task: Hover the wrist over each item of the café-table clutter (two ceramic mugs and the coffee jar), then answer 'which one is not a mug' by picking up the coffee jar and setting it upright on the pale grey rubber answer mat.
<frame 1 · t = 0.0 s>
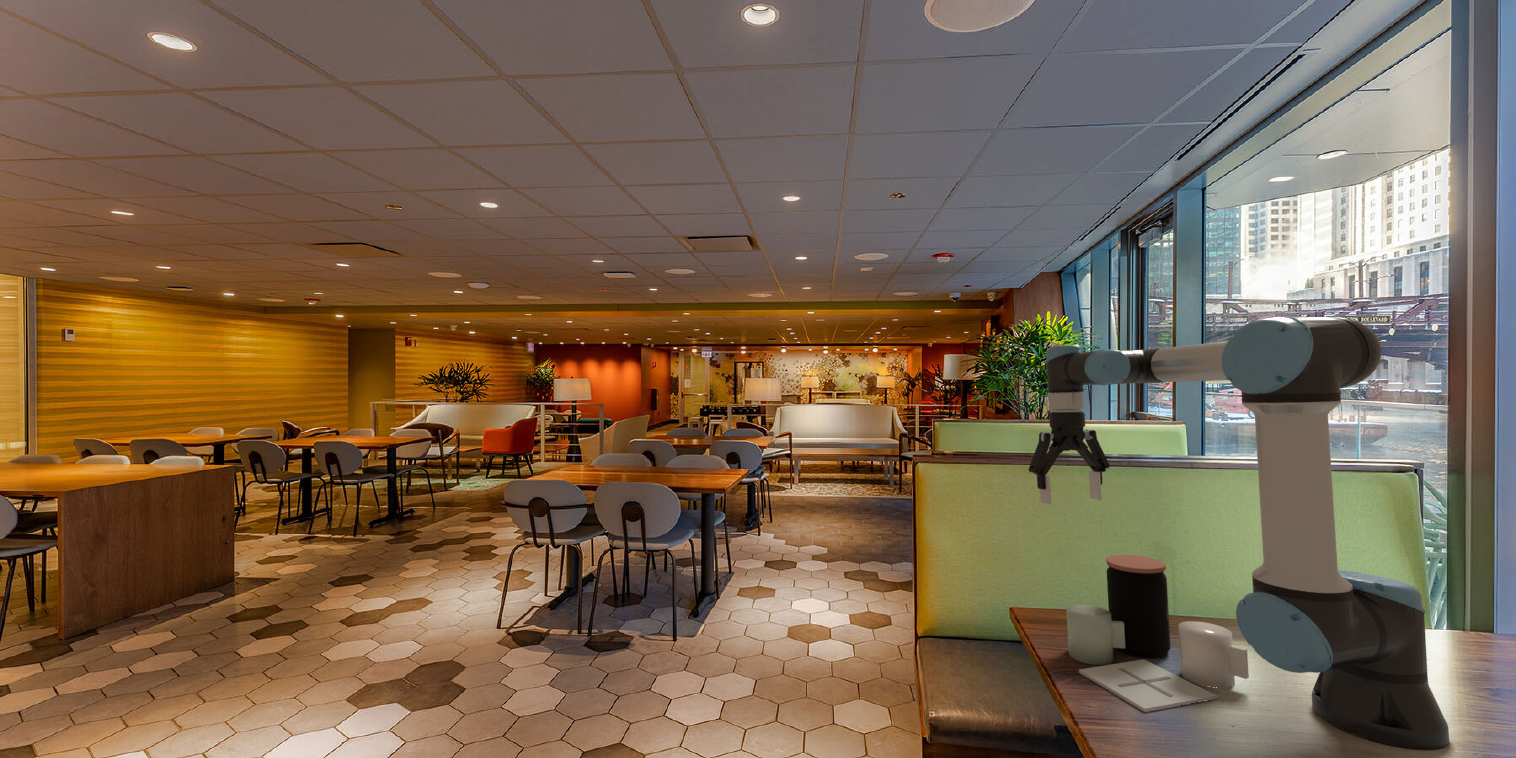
hand: (1071, 501, 141), 28 cm above the table, fingers open, 13 cm apart
answer mat: (1144, 685, 110), on the table
mug cream: (1207, 678, 111), on the table
mug sage: (1090, 656, 122), on the table
coffee jar: (1139, 649, 125), on the table
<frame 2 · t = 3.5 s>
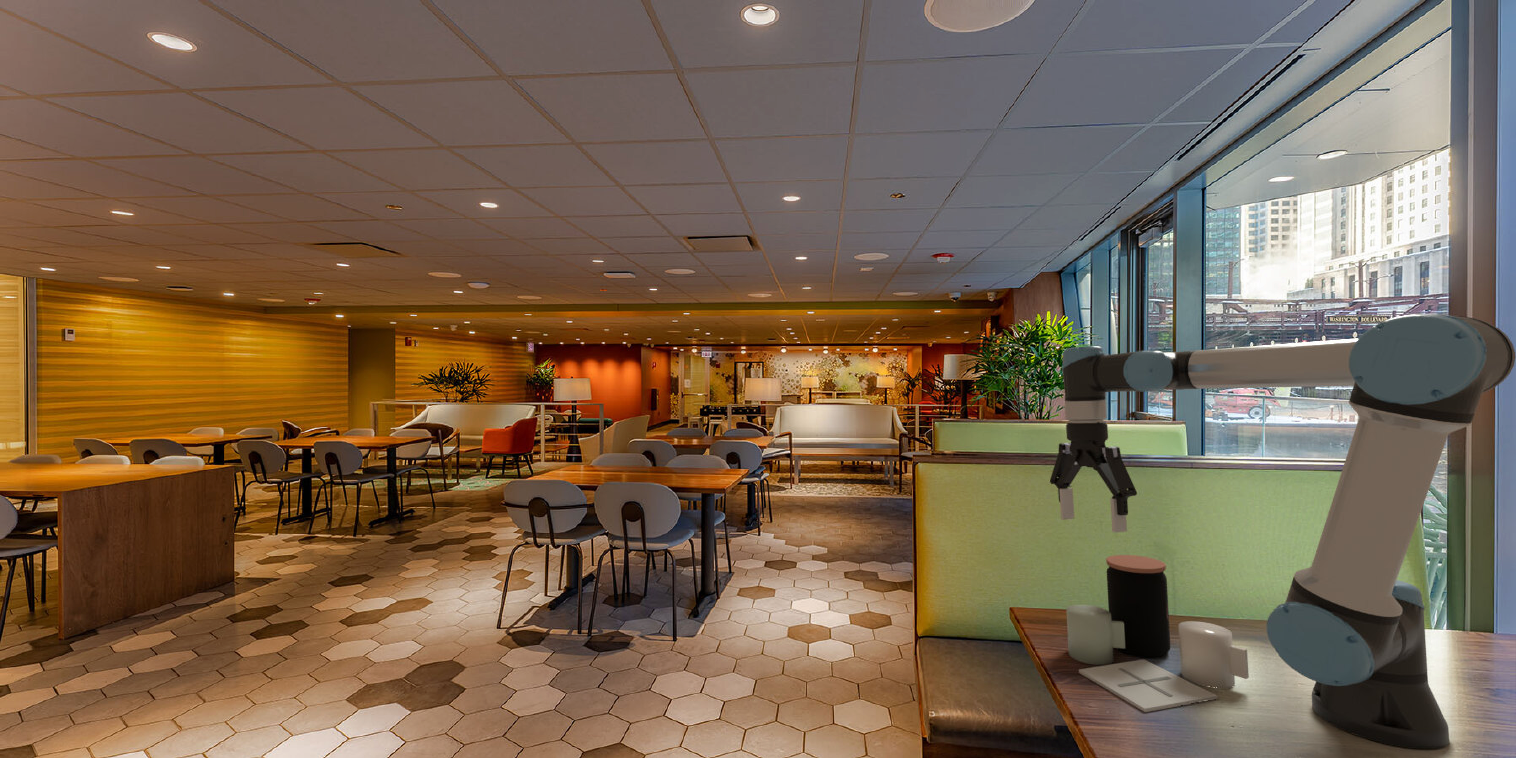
hand: (1092, 525, 123), 26 cm above the table, fingers open, 13 cm apart
nothing on the table moved.
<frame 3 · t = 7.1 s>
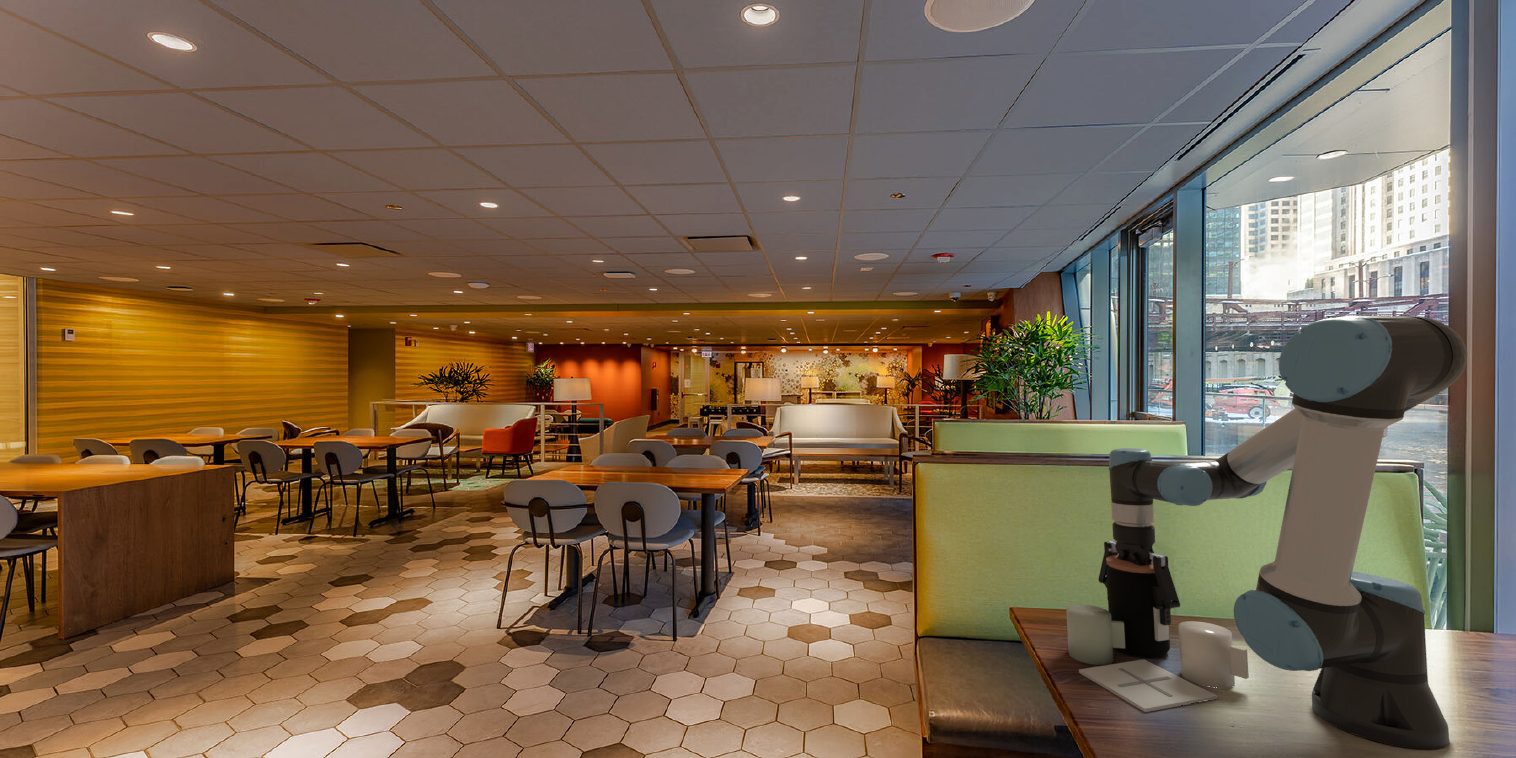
hand: (1138, 629, 125), 4 cm above the table, fingers closed on coffee jar, 11 cm apart
coffee jar: (1139, 649, 125), on the table, touching gripper
everything else where it was.
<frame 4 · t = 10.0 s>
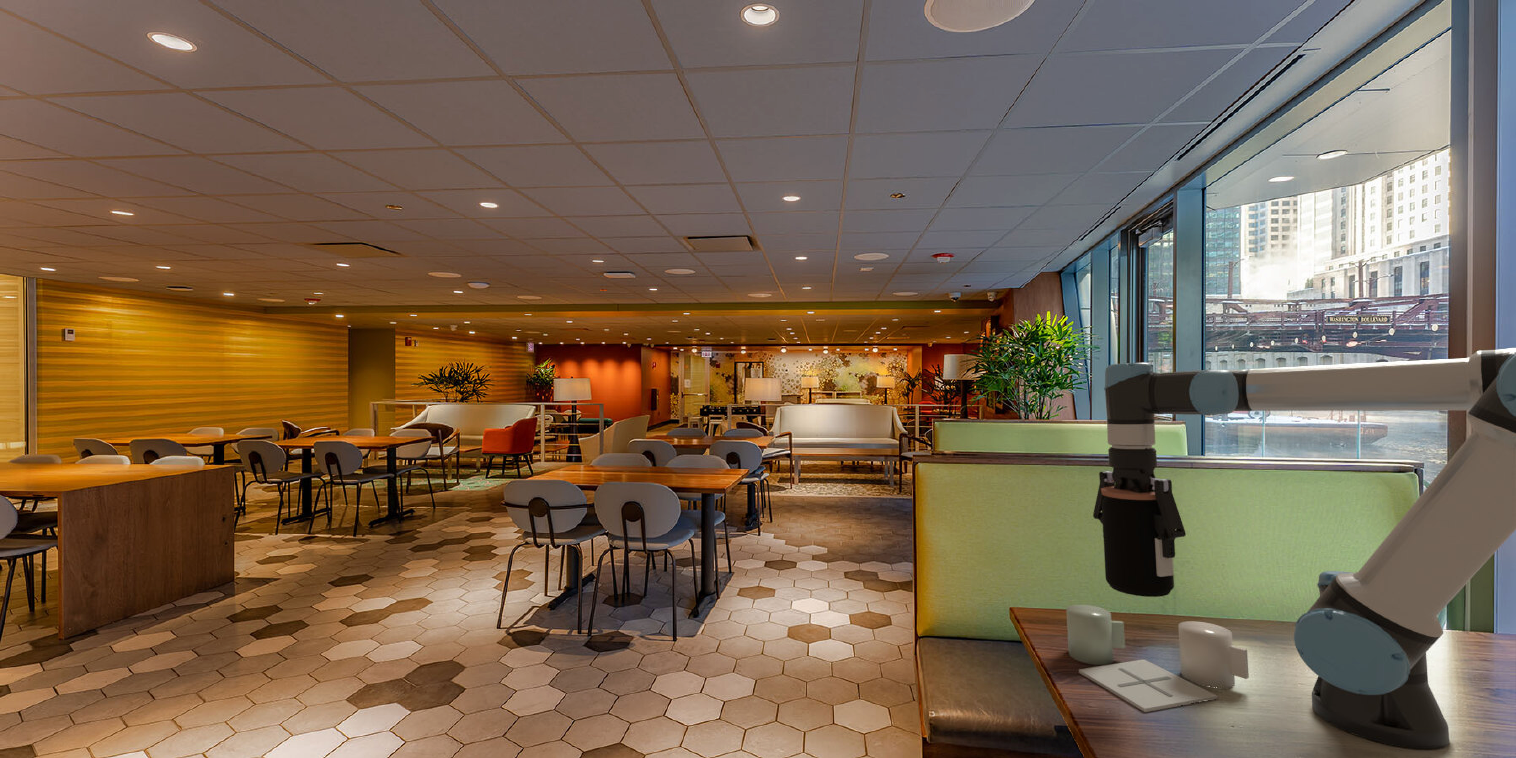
hand: (1138, 566, 110), 22 cm above the table, fingers closed on coffee jar, 11 cm apart
coffee jar: (1139, 589, 110), point 17 cm above the table, touching gripper
everything else where it was.
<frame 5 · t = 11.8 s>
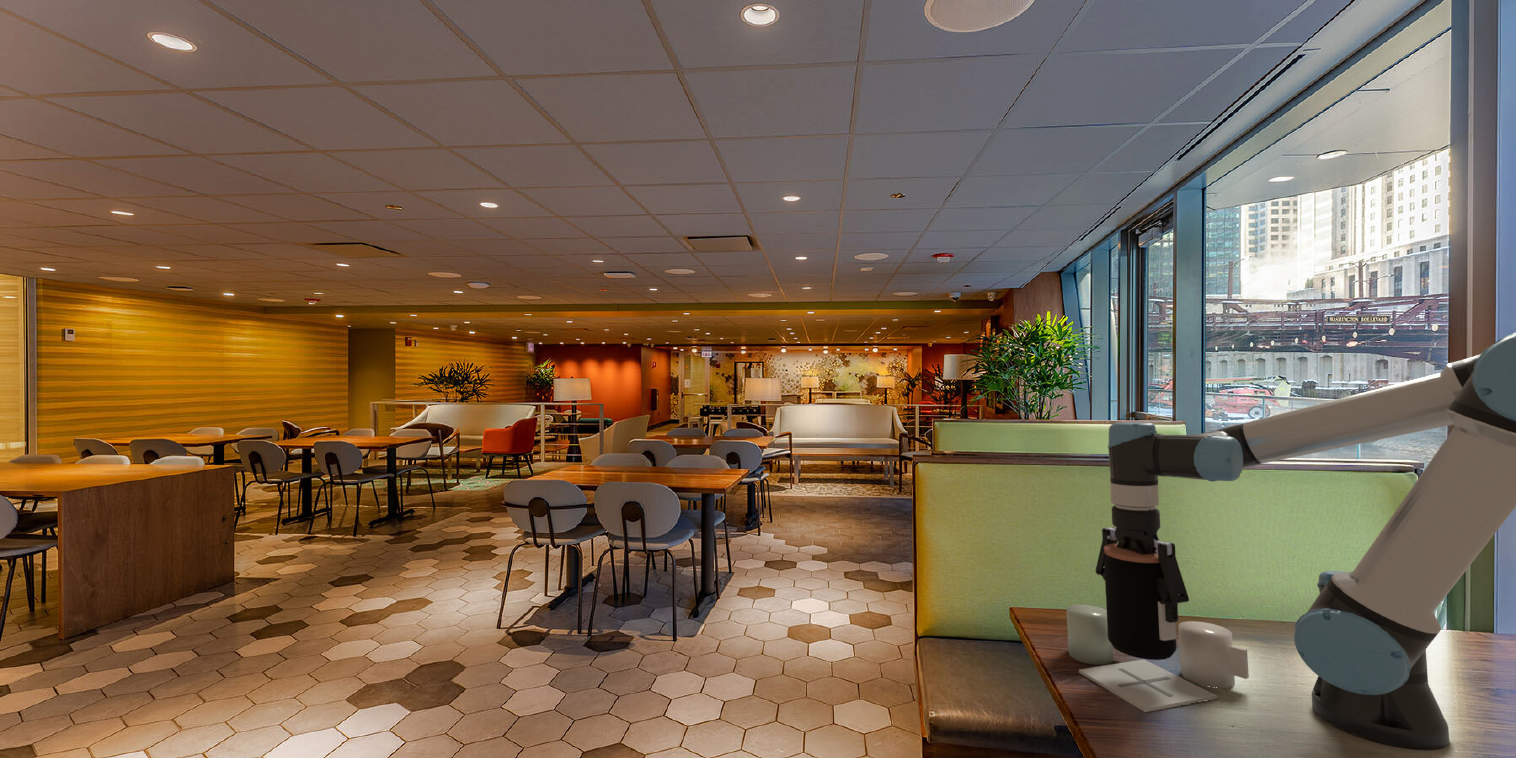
hand: (1140, 627, 110), 11 cm above the table, fingers closed on coffee jar, 11 cm apart
coffee jar: (1141, 649, 110), point 6 cm above the table, touching gripper
everything else where it was.
when the fingers open (6 cm above the table, at t = 13.4 s): coffee jar drops 1 cm, resting on answer mat.
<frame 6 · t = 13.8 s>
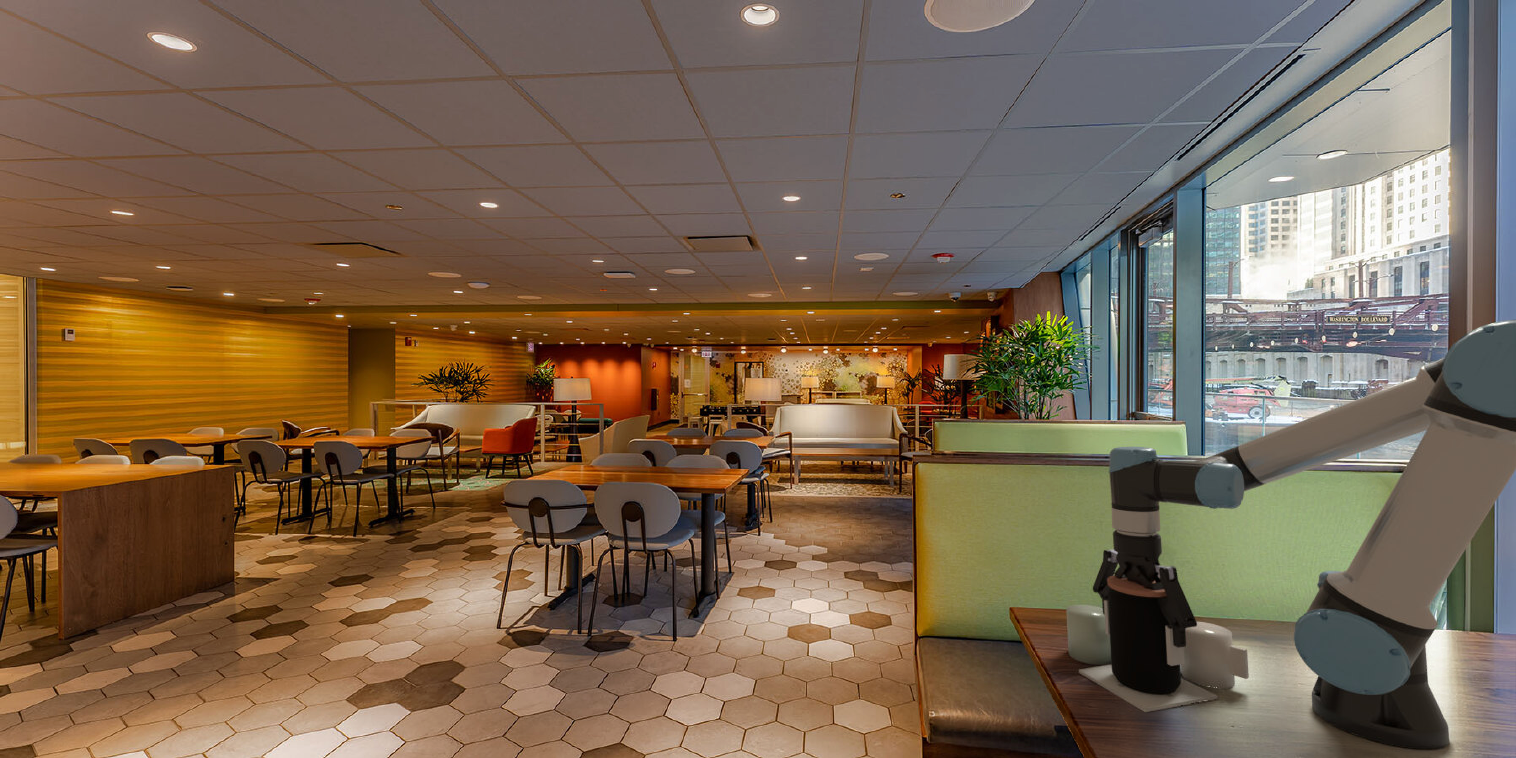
hand: (1142, 648, 110), 7 cm above the table, fingers open, 13 cm apart
coffee jar: (1145, 683, 109), point 1 cm above the table, touching answer mat
everything else where it was.
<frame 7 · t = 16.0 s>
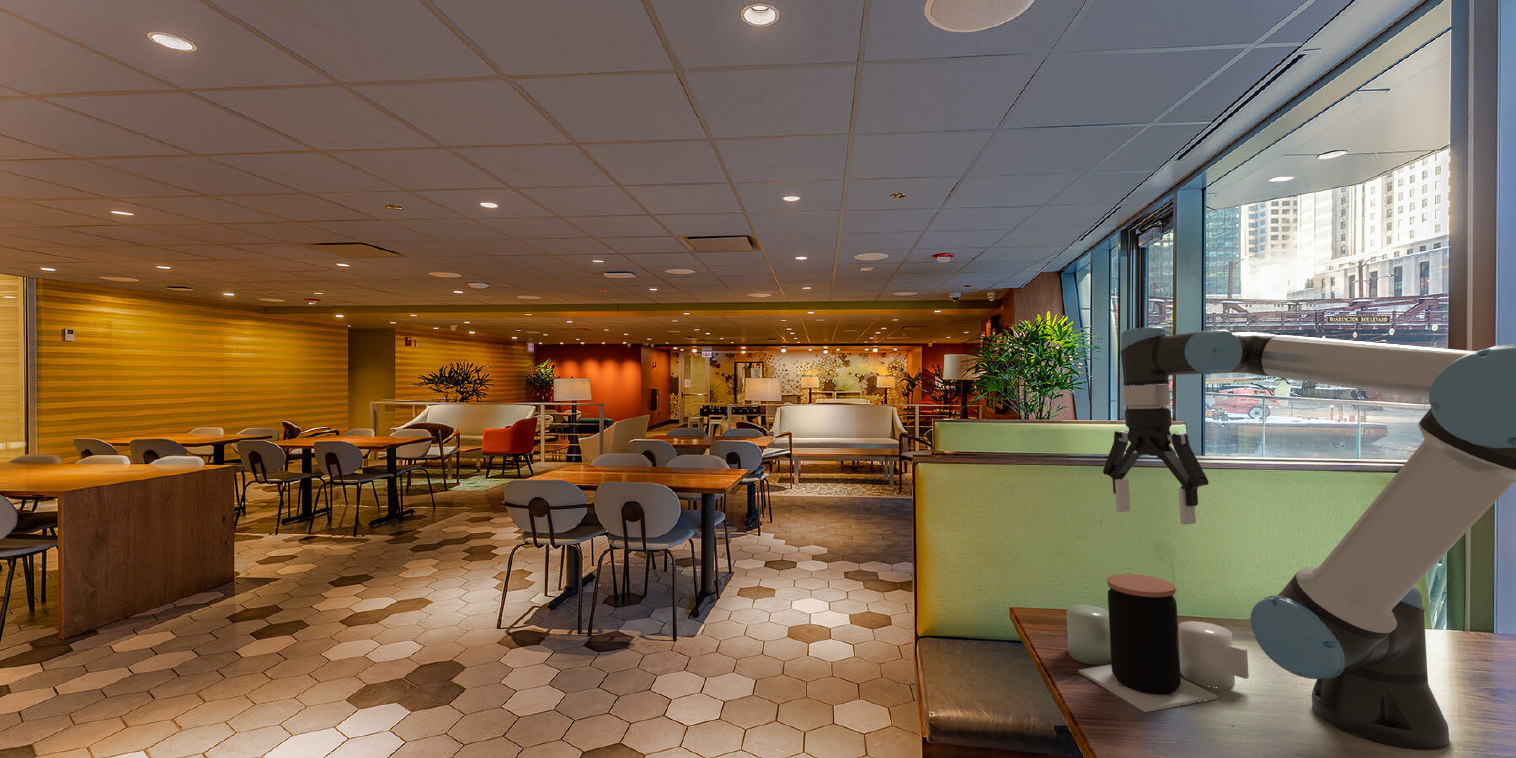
hand: (1154, 517, 116), 29 cm above the table, fingers open, 13 cm apart
nothing on the table moved.
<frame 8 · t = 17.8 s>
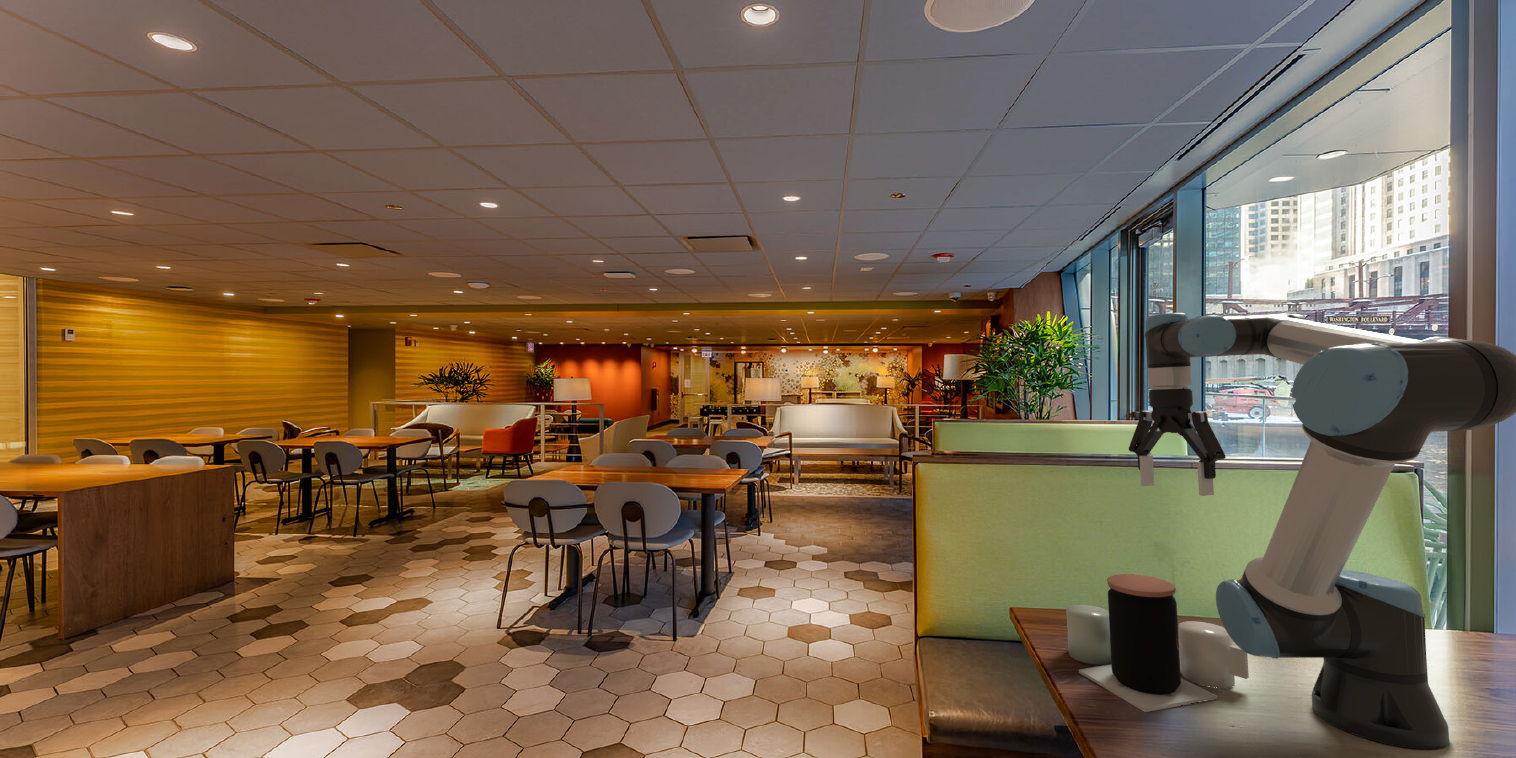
hand: (1175, 490, 125), 33 cm above the table, fingers open, 13 cm apart
nothing on the table moved.
at the end: coffee jar inside the target area on the answer mat (0.3 cm from its centre), point 0.5 cm above the answer mat's base; coffee jar tilted 0°; the gripper is holding nothing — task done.
